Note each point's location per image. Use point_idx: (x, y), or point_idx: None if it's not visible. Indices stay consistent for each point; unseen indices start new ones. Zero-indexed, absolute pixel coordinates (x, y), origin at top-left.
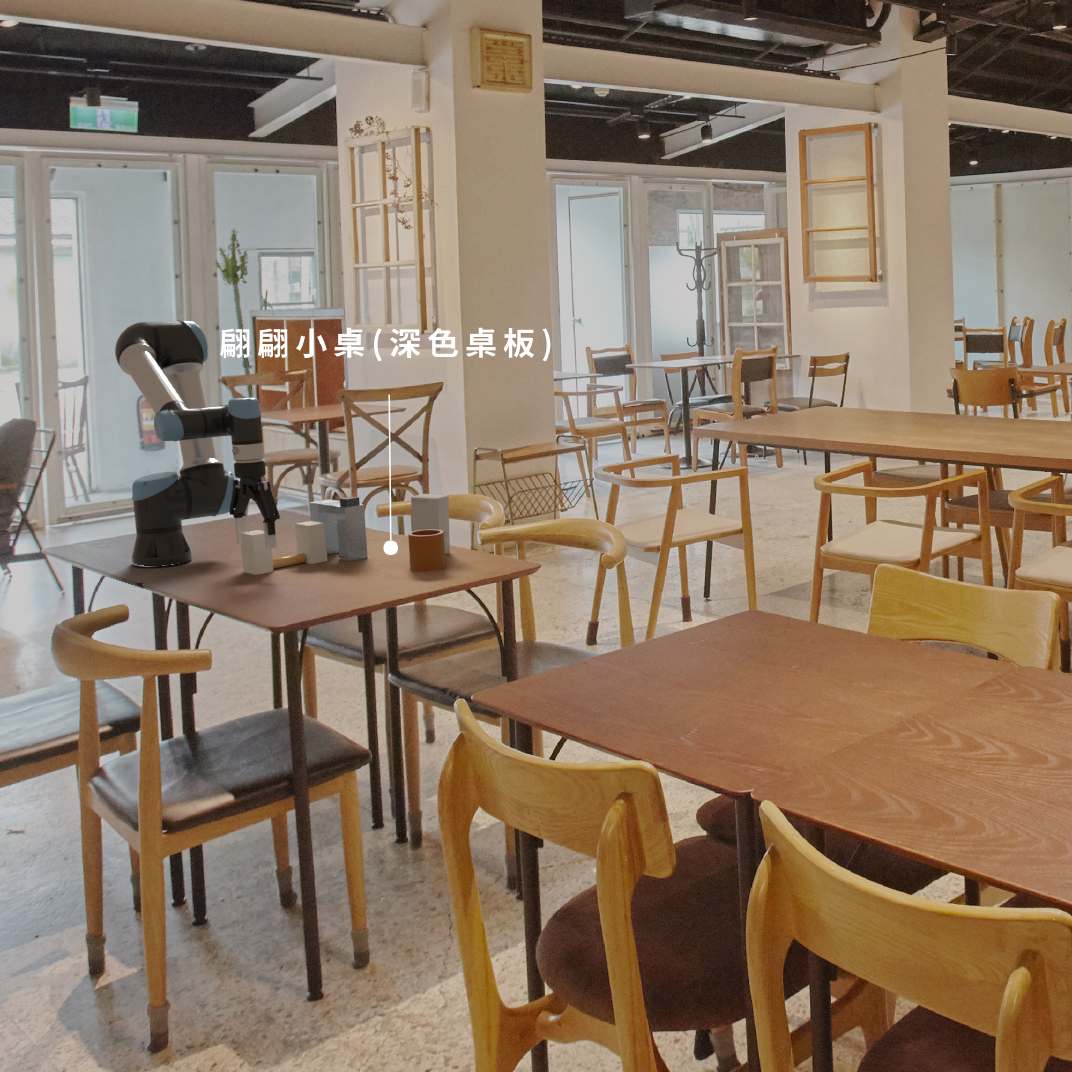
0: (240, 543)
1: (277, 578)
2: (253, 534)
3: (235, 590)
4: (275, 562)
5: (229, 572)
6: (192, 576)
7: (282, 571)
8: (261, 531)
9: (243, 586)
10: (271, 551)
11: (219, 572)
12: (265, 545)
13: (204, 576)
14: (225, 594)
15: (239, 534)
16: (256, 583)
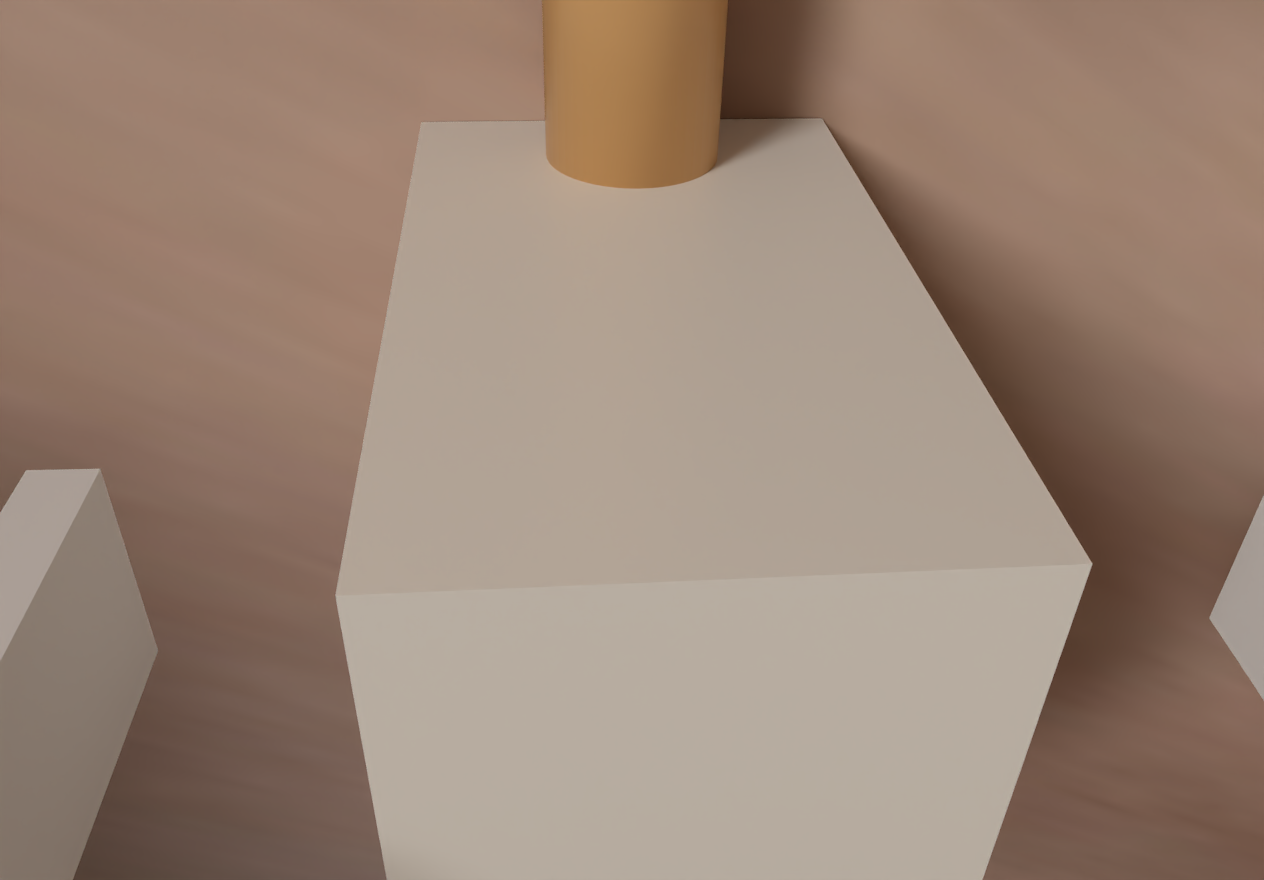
0: (150, 630)
1: (1251, 322)
2: (903, 875)
3: (1202, 788)
4: (724, 23)
5: (318, 518)
6: (212, 808)
7: (957, 14)
8: (716, 640)
9: (1151, 699)
10: (918, 284)
11: (213, 586)
12: (1250, 665)
13: (318, 747)
14: (1226, 869)
15: (85, 801)
16: (1185, 580)
